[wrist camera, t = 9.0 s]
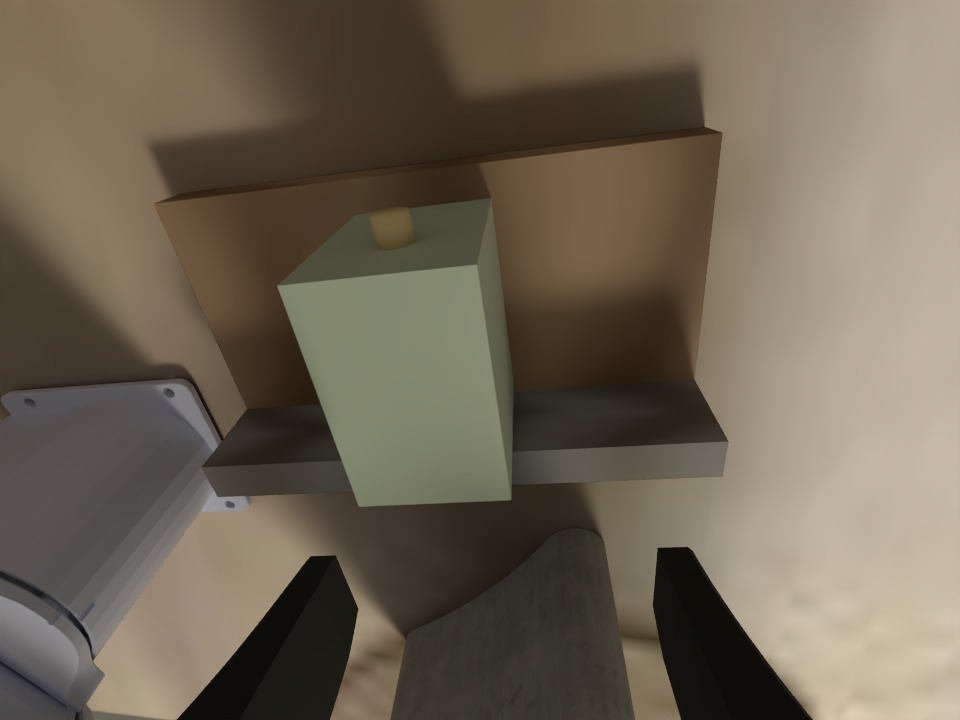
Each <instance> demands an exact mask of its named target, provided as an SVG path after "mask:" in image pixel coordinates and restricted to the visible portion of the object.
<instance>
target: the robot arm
mask: <svg viewBox="0 0 960 720" xmlns="http://www.w3.org/2000/svg"><path fill="white" fill-rule="evenodd" d="M170 389H171V390H172V391H173V392H172V391H171V390H170ZM1 402H2V404H3V406H4V407H5V408H6V410H7V411H8V412H9V414H10V416H8V417H7V418H5V419H4V420H3V421H1V422H0V720H94V719H93V716H92V712H91V710H90V709H89V707H88V706H87V705H86V703H87V702H88V700H89V699H90V697H91V696H92V694H93V693H94V691H95V690H96V688H97V687H98V685H99V684H100V682H101V681H102V680H103V678H104V677H105V674H104V673H103V672H102V671H101V670H100V669H99V668H98V667H97V666H96V665H95V664H94V662H93V660H94V659H95V658H96V656H97V655H98V653H99V652H100V651H101V649H102V648H103V646H104V645H105V644H106V642H107V641H108V639H109V638H110V637H111V635H112V634H113V632H114V631H115V630H116V628H117V627H118V625H119V624H120V623H121V621H122V620H123V618H124V617H125V616H126V614H127V613H128V611H129V610H130V609H131V607H132V606H133V605H134V603H135V602H136V600H137V599H138V598H139V596H140V595H141V593H142V592H143V591H144V589H145V588H146V586H147V585H148V584H149V582H150V581H151V579H152V578H153V577H154V575H155V574H156V572H157V571H158V570H159V568H160V567H161V565H162V564H163V563H164V561H165V560H166V558H167V557H168V556H169V554H170V553H171V551H172V550H173V549H174V547H175V546H176V544H177V543H178V542H179V540H180V539H181V538H182V536H183V535H184V533H185V532H186V531H187V529H188V528H189V526H190V525H191V524H192V522H193V521H194V519H195V518H196V517H197V515H198V514H199V512H217V511H243V510H247V509H248V508H249V506H250V505H251V503H252V500H251V498H250V496H235V497H217V495H216V493H215V491H214V490H213V488H212V486H211V484H210V483H209V481H208V479H207V477H206V475H205V474H204V472H203V470H202V468H201V467H202V466H203V464H204V463H205V462H206V461H207V459H208V458H209V457H210V456H211V454H212V453H213V452H214V451H215V449H216V448H217V447H218V446H219V444H220V443H221V442H222V441H221V439H220V437H219V435H218V433H217V431H216V429H215V427H214V425H213V423H212V421H211V419H210V417H209V415H208V413H207V411H206V410H205V408H204V406H203V404H202V402H201V400H200V398H199V396H198V394H197V392H196V390H195V388H194V386H193V385H192V384H191V383H190V382H189V381H187V380H185V379H166V380H153V381H139V382H126V383H112V384H99V385H86V386H72V387H59V388H46V389H32V390H19V391H10V392H8V393H6V394H4V395H3V396H2V397H1ZM653 609H654V614H655V619H656V625H657V630H658V635H659V640H660V645H661V650H662V655H663V659H664V663H665V666H666V669H667V673H668V676H669V680H670V683H671V687H672V690H673V693H674V697H675V700H676V703H677V707H678V710H679V714H680V717H681V720H813V719H812V718H811V717H810V716H809V715H808V713H807V712H806V711H805V710H804V708H803V707H802V706H801V705H800V703H799V702H798V701H797V700H796V698H795V697H794V696H793V695H792V693H791V692H790V691H789V690H788V688H787V687H786V686H785V685H784V683H783V682H782V681H781V679H780V678H779V677H778V675H777V674H776V673H775V672H774V670H773V669H772V668H771V666H770V665H769V664H768V662H767V661H766V660H765V658H764V657H763V655H762V654H761V653H760V651H759V650H758V649H757V647H756V646H755V645H754V643H753V642H752V640H751V639H750V638H749V636H748V635H747V634H746V632H745V631H744V630H743V628H742V627H741V625H740V624H739V622H738V621H737V620H736V618H735V617H734V615H733V614H732V612H731V611H730V609H729V608H728V606H727V605H726V603H725V602H724V600H723V599H722V597H721V596H720V594H719V593H718V591H717V590H716V588H715V587H714V585H713V584H712V582H711V581H710V579H709V577H708V576H707V574H706V573H705V571H704V569H703V568H702V566H701V564H700V563H699V561H698V559H697V558H696V556H695V554H694V552H693V551H692V550H691V549H690V548H688V547H673V548H658V552H657V564H656V576H655V587H654V599H653ZM357 613H358V607H357V605H356V602H355V600H354V598H353V595H352V593H351V590H350V588H349V586H348V583H347V581H346V579H345V576H344V574H343V572H342V569H341V567H340V565H339V562H338V560H337V557H336V556H311V557H310V558H309V559H308V560H307V561H306V563H305V564H304V565H303V566H302V568H301V569H300V570H299V572H298V573H297V574H296V576H295V577H294V578H293V579H292V581H291V582H290V583H289V585H288V586H287V587H286V589H285V590H284V591H283V593H282V594H281V595H280V596H279V598H278V599H277V600H276V602H275V603H274V604H273V606H272V607H271V608H270V609H269V611H268V612H267V613H266V615H265V616H264V617H263V618H262V620H261V621H260V622H259V623H258V625H257V626H256V627H255V628H254V630H253V631H252V632H251V633H250V635H249V636H248V637H247V638H246V640H245V641H244V642H243V643H242V645H241V646H240V647H239V648H238V650H237V651H236V652H235V653H234V655H233V656H232V657H231V658H230V659H229V661H228V662H227V663H226V664H225V665H224V666H223V668H222V669H221V670H220V671H219V672H218V673H217V675H216V676H215V677H214V678H213V679H212V680H211V682H210V683H209V684H208V685H207V686H206V687H205V688H204V690H203V691H202V692H201V693H200V694H199V695H198V697H197V698H196V699H195V700H194V701H193V702H192V703H191V704H190V706H189V707H188V708H187V709H186V710H185V711H184V712H183V713H182V714H181V715H180V717H179V718H178V719H177V720H330V717H331V714H332V711H333V708H334V705H335V701H336V698H337V695H338V692H339V688H340V685H341V682H342V678H343V675H344V672H345V669H346V665H347V662H348V658H349V654H350V649H351V645H352V640H353V635H354V629H355V624H356V618H357Z"/></svg>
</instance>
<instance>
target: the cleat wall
mask: <svg viewBox="0 0 960 720" xmlns="http://www.w3.org/2000/svg"><path fill="white" fill-rule="evenodd" d="M721 141H722V133H721V132H718V131H716V130H713V129H710V128H707V127H702V128H695V129H687V130H679V131H671V132H663V133H655V134H647V135H639V136H632V137H624V138H616V139H608V140H600V141H592V142H584V143H576V144H568V145H561V146H553V147H545V148H537V149H529V150H521V151H513V152H505V153H498V154H490V155H482V156H474V157H466V158H458V159H450V160H442V161H434V162H427V163H419V164H411V165H403V166H395V167H387V168H379V169H371V170H363V171H356V172H348V173H340V174H332V175H324V176H316V177H308V178H300V179H293V180H285V181H277V182H269V183H261V184H253V185H245V186H237V187H229V188H222V189H214V190H206V191H198V192H190V193H182V194H178V195H176V196H173V197H170V198H168V199H165V200H163V201H160V202H157V203H155V204H154V206H155V208H156V210H157V212H158V214H159V217H160V219H161V221H162V223H163V225H164V227H165V230H166V232H167V234H168V236H169V238H170V241H171V243H172V245H173V247H174V249H175V252H176V254H177V256H178V258H179V260H180V262H181V265H182V267H183V269H184V271H185V273H186V276H187V278H188V280H189V282H190V284H191V287H192V289H193V291H194V293H195V295H196V297H197V300H198V302H199V304H200V306H201V308H202V311H203V313H204V315H205V317H206V319H207V322H208V324H209V326H210V328H211V330H212V332H213V335H214V337H215V339H216V341H217V343H218V346H219V348H220V350H221V352H222V354H223V357H224V359H225V361H226V363H227V365H228V367H229V370H230V372H231V374H232V376H233V378H234V381H235V383H236V385H237V387H238V389H239V392H240V394H241V396H242V398H243V400H244V402H245V405H246V407H247V410H246V411H245V413H244V414H243V415H242V417H241V418H240V419H239V420H238V422H237V423H236V424H235V425H234V427H233V428H232V429H231V430H230V432H229V433H228V434H227V435H226V437H225V438H224V439H223V440H222V442H221V443H220V444H219V446H218V447H217V448H216V449H215V451H214V452H213V453H212V454H211V456H210V457H209V458H208V459H207V461H206V462H205V463H204V464H203V466H202V467H201V468H202V470H203V472H204V474H205V475H206V477H207V479H208V481H209V483H210V484H211V486H212V488H213V490H214V491H215V493H216V495H217V497H235V496H259V495H284V494H308V493H333V492H353V489H352V487H351V484H350V481H349V479H348V476H347V473H346V470H345V468H344V465H343V462H342V460H341V457H340V454H339V452H338V449H337V446H336V443H335V441H334V438H333V435H332V433H331V430H330V427H329V425H328V422H327V419H326V416H325V414H324V411H323V408H322V406H321V403H320V400H319V398H318V395H317V392H316V389H315V387H314V384H313V381H312V379H311V376H310V373H309V371H308V368H307V365H306V362H305V360H304V357H303V354H302V352H301V349H300V346H299V344H298V341H297V338H296V335H295V333H294V330H293V327H292V325H291V322H290V319H289V317H288V314H287V311H286V308H285V306H284V303H283V300H282V298H281V295H280V292H279V290H278V287H277V285H279V284H280V283H281V282H282V281H283V280H284V279H285V278H286V277H287V276H288V275H290V274H291V273H292V272H293V271H294V270H295V269H296V268H297V267H298V266H299V265H301V264H302V263H303V262H304V261H305V260H306V259H307V258H308V257H309V256H310V255H312V254H313V253H314V252H315V251H316V250H317V249H318V248H319V247H320V246H321V245H323V244H324V243H325V242H326V241H327V240H328V239H329V238H330V237H331V236H332V235H334V234H335V233H336V232H337V231H338V230H339V229H340V228H341V227H342V226H343V225H345V224H346V223H347V222H348V221H349V220H350V219H351V218H352V217H353V216H354V215H359V214H367V213H373V212H375V211H378V210H381V209H385V208H391V207H408V208H415V207H423V206H431V205H439V204H448V203H456V202H464V201H472V200H480V199H488V198H491V199H492V207H493V215H494V224H495V232H496V240H497V248H498V257H499V265H500V273H501V281H502V290H503V298H504V306H505V314H506V323H507V331H508V339H509V347H510V356H511V364H512V372H513V380H514V394H513V442H512V485H528V484H552V483H577V482H601V481H626V480H650V479H674V478H699V477H723V471H724V465H725V459H726V453H727V447H728V440H727V438H726V436H725V434H724V432H723V431H722V429H721V427H720V425H719V423H718V422H717V420H716V418H715V416H714V414H713V413H712V411H711V409H710V407H709V405H708V403H707V402H706V400H705V398H704V396H703V394H702V393H701V391H700V389H699V387H698V385H697V384H696V382H695V371H696V362H697V353H698V344H699V336H700V327H701V318H702V309H703V300H704V291H705V282H706V274H707V265H708V256H709V247H710V238H711V229H712V221H713V212H714V203H715V194H716V185H717V176H718V167H719V159H720V150H721Z"/></svg>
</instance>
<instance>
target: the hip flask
mask: <svg viewBox="0 0 960 720" xmlns="http://www.w3.org/2000/svg"><path fill="white" fill-rule="evenodd" d="M390 720H635V717H634V711H633V705H632V700H631V694H630V688H629V682H628V677H627V671H626V665H625V660H624V654H623V648H622V642H621V637H620V631H619V625H618V619H617V614H616V608H615V602H614V597H613V591H612V585H611V579H610V574H609V568H608V562H607V556H606V551H605V545H604V542H603V540H602V539H601V538H600V536H598V535H597V534H596V533H594V532H592V531H589V530H586V529H581V528H567V529H563V530H560V531H557V532H555V533H554V534H552V535H551V536H550V537H549V538H548V539H547V540H546V541H545V542H544V543H543V544H542V545H541V546H540V547H539V548H538V549H537V550H536V551H535V552H534V553H533V554H532V555H531V556H530V557H529V558H528V559H527V560H525V561H524V562H523V563H522V564H521V565H520V566H519V567H517V568H516V569H515V570H514V571H512V572H511V573H510V574H509V575H507V576H506V577H505V578H503V579H502V580H501V581H499V582H498V583H497V584H495V585H494V586H492V587H491V588H489V589H488V590H486V591H485V592H483V593H482V594H480V595H479V596H477V597H476V598H474V599H473V600H471V601H469V602H468V603H466V604H464V605H463V606H461V607H459V608H457V609H456V610H454V611H452V612H450V613H448V614H446V615H444V616H442V617H440V618H438V619H436V620H434V621H432V622H429V623H427V624H425V625H422V626H420V627H417V628H415V629H413V630H411V631H410V632H409V633H408V635H407V639H406V644H405V649H404V654H403V659H402V664H401V669H400V674H399V679H398V684H397V689H396V694H395V699H394V704H393V709H392V714H391V719H390Z"/></svg>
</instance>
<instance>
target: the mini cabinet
mask: <svg viewBox="0 0 960 720" xmlns="http://www.w3.org/2000/svg"><path fill="white" fill-rule="evenodd" d="M277 287H278V290H279V292H280V295H281V298H282V300H283V303H284V306H285V308H286V311H287V314H288V317H289V319H290V322H291V325H292V327H293V330H294V333H295V335H296V338H297V341H298V344H299V346H300V349H301V352H302V354H303V357H304V360H305V362H306V365H307V368H308V371H309V373H310V376H311V379H312V381H313V384H314V387H315V389H316V392H317V395H318V398H319V400H320V403H321V406H322V408H323V411H324V414H325V416H326V419H327V422H328V425H329V427H330V430H331V433H332V435H333V438H334V441H335V443H336V446H337V449H338V452H339V454H340V457H341V460H342V462H343V465H344V468H345V470H346V473H347V476H348V479H349V481H350V484H351V487H352V489H353V492H354V495H355V497H356V500H357V503H358V506H359V507H366V506H390V505H413V504H436V503H459V502H483V501H506V500H511V490H512V442H513V394H514V380H513V372H512V364H511V356H510V347H509V339H508V331H507V323H506V314H505V306H504V298H503V290H502V281H501V273H500V265H499V257H498V248H497V240H496V232H495V224H494V215H493V207H492V199H491V198H488V199H480V200H472V201H464V202H456V203H448V204H439V205H431V206H423V207H415V208H408V207H391V208H385V209H381V210H378V211H375V212H373V213H367V214H359V215H354V216H353V217H352V218H351V219H350V220H349V221H348V222H347V223H346V224H345V225H343V226H342V227H341V228H340V229H339V230H338V231H337V232H336V233H335V234H334V235H332V236H331V237H330V238H329V239H328V240H327V241H326V242H325V243H324V244H323V245H321V246H320V247H319V248H318V249H317V250H316V251H315V252H314V253H313V254H312V255H310V256H309V257H308V258H307V259H306V260H305V261H304V262H303V263H302V264H301V265H299V266H298V267H297V268H296V269H295V270H294V271H293V272H292V273H291V274H290V275H288V276H287V277H286V278H285V279H284V280H283V281H282V282H281V283H280V284H279V285H277Z"/></svg>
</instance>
